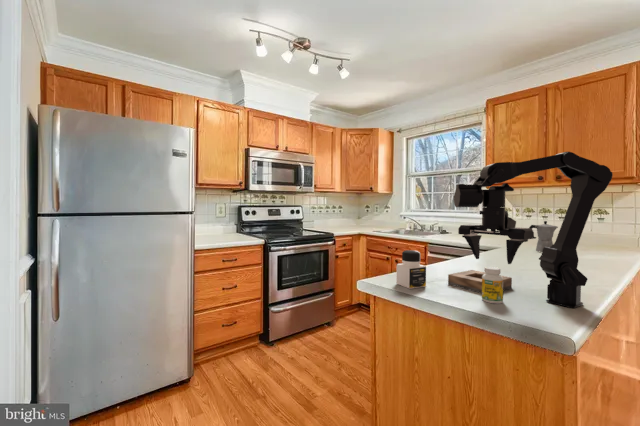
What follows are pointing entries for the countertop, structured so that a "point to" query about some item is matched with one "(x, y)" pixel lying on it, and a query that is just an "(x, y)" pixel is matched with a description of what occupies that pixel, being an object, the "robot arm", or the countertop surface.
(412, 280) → the medicine bottle
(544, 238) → the coffeepot
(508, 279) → the socket block
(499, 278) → the supplement bottle
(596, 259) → the countertop surface
